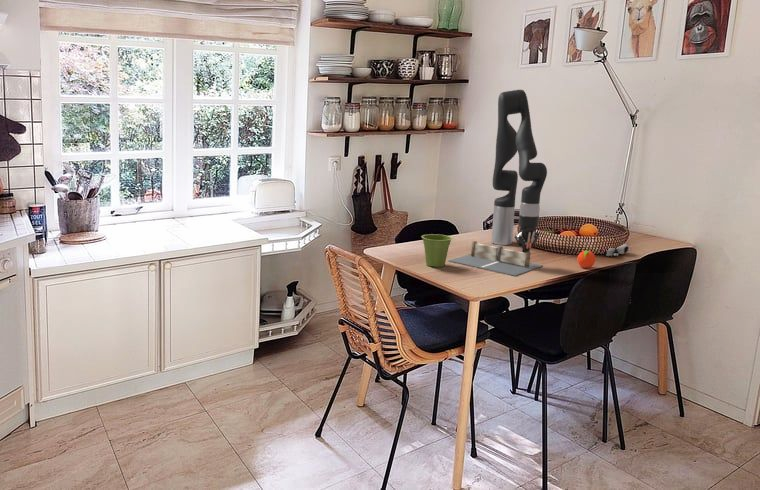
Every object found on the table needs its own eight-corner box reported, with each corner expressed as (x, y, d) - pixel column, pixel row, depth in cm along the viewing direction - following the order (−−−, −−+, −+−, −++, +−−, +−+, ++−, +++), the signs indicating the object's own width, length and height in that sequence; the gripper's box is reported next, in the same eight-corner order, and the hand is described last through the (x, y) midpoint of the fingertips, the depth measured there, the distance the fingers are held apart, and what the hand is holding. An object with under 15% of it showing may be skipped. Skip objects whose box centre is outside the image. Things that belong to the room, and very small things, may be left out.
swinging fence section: (495, 260, 268) (496, 246, 267) (498, 259, 270) (499, 246, 268) (527, 267, 259) (528, 253, 258) (530, 266, 261) (531, 252, 259)
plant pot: (456, 266, 261) (458, 237, 258) (437, 270, 252) (438, 241, 250) (433, 260, 269) (435, 232, 266) (413, 264, 260) (415, 236, 258)
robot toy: (617, 262, 281) (631, 254, 292) (618, 251, 280) (632, 244, 291) (590, 256, 289) (605, 249, 300) (590, 246, 288) (605, 239, 299)
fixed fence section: (470, 256, 276) (471, 241, 274) (472, 255, 277) (473, 241, 276) (494, 261, 268) (495, 246, 267) (497, 260, 270) (498, 245, 269)
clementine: (591, 271, 260) (593, 253, 259) (573, 268, 263) (575, 251, 262) (596, 267, 267) (598, 250, 265) (578, 264, 270) (580, 247, 269)
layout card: (477, 252, 284) (477, 251, 284) (542, 266, 265) (542, 265, 265) (448, 261, 267) (448, 260, 267) (515, 276, 249) (515, 275, 248)
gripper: (531, 211, 267) (528, 253, 271) (510, 214, 258) (507, 257, 262) (547, 214, 261) (543, 257, 265) (526, 217, 253) (522, 261, 257)
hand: (525, 257), depth 264 cm, fingers closed
